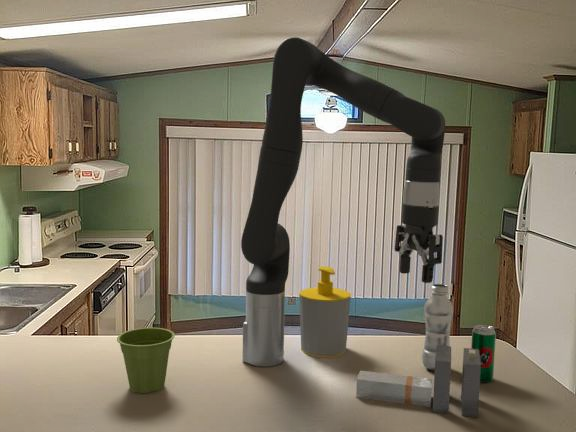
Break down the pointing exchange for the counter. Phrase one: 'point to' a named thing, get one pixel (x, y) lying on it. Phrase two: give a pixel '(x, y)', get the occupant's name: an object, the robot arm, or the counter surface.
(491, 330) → the soda can
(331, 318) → the soap bottle
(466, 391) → the collar
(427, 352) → the plastic bottle
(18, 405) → the counter surface
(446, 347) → the collar
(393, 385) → the pale grey rectangular bar
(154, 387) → the plant pot
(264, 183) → the robot arm
